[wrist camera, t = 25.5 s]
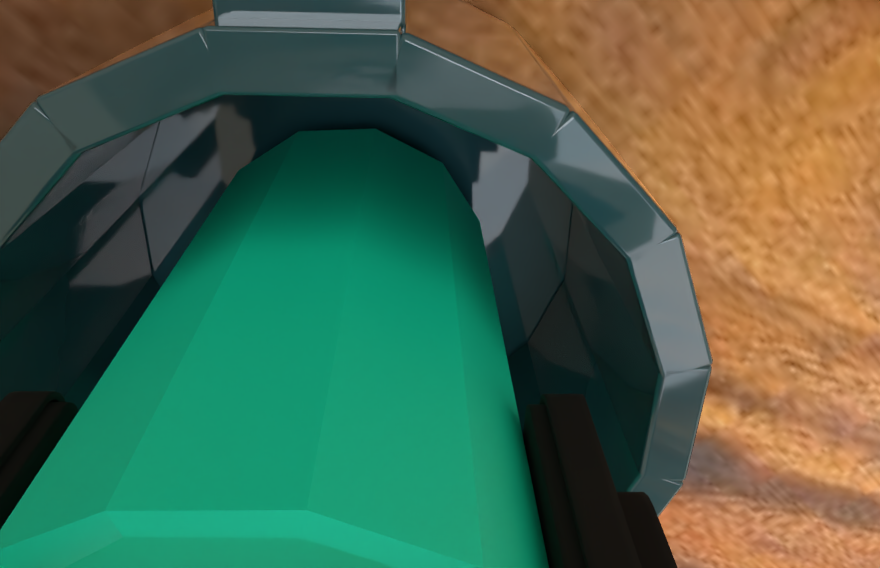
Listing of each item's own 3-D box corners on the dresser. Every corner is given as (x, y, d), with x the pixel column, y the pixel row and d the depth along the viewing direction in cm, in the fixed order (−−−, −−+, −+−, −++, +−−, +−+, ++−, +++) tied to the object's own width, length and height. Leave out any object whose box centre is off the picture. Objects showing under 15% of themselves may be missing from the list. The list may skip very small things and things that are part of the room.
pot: (171, 492, 22) (60, 755, 15) (38, -192, 14) (-323, -280, 7) (561, 492, 22) (623, 749, 15) (651, -172, 14) (859, -238, 7)
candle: (440, 87, 14) (506, 595, 4) (512, 333, 17) (669, 1029, 7) (163, 173, 15) (-433, 810, 5) (275, 397, 18) (68, 1125, 7)
